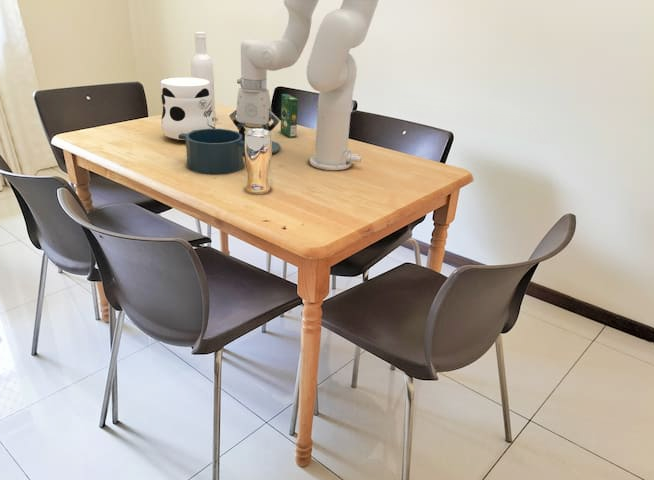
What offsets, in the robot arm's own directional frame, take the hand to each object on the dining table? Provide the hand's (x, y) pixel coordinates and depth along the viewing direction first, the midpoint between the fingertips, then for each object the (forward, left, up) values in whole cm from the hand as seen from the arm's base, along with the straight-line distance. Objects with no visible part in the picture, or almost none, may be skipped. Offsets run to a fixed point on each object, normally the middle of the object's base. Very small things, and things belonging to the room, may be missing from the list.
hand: (254, 142), depth 161 cm
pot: (+5, +19, -2) cm, 20 cm away
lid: (0, 0, -1) cm, 2 cm away
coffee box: (-5, -21, -2) cm, 22 cm away
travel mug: (+10, -28, -2) cm, 30 cm away
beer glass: (-13, +33, -2) cm, 36 cm away
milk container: (+24, -3, -2) cm, 24 cm away
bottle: (+30, -28, -2) cm, 41 cm away
